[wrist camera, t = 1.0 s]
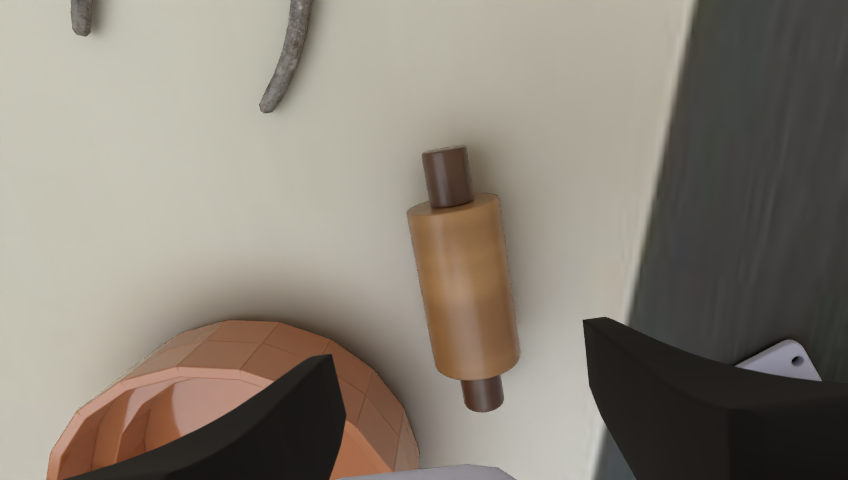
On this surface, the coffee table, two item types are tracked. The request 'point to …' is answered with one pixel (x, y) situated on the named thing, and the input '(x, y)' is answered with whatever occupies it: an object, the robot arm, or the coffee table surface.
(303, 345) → the bowl
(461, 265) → the rolling pin
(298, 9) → the pliers
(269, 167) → the coffee table surface
